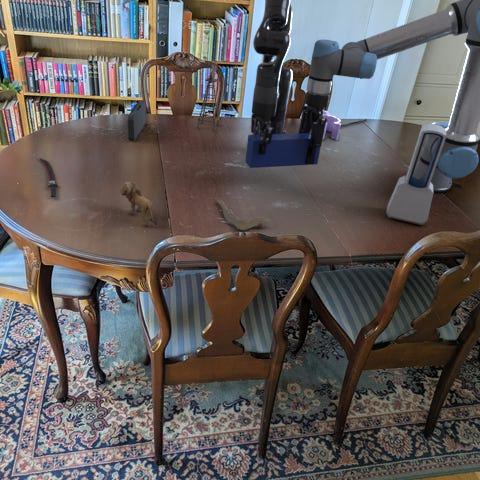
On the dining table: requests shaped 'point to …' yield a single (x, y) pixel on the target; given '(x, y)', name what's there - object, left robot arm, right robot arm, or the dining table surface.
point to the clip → (331, 125)
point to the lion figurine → (137, 201)
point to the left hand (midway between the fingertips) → (258, 150)
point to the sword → (52, 181)
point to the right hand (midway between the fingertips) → (305, 160)
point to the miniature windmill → (210, 80)
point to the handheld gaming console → (136, 120)
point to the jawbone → (237, 221)
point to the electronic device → (416, 183)
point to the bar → (280, 151)
